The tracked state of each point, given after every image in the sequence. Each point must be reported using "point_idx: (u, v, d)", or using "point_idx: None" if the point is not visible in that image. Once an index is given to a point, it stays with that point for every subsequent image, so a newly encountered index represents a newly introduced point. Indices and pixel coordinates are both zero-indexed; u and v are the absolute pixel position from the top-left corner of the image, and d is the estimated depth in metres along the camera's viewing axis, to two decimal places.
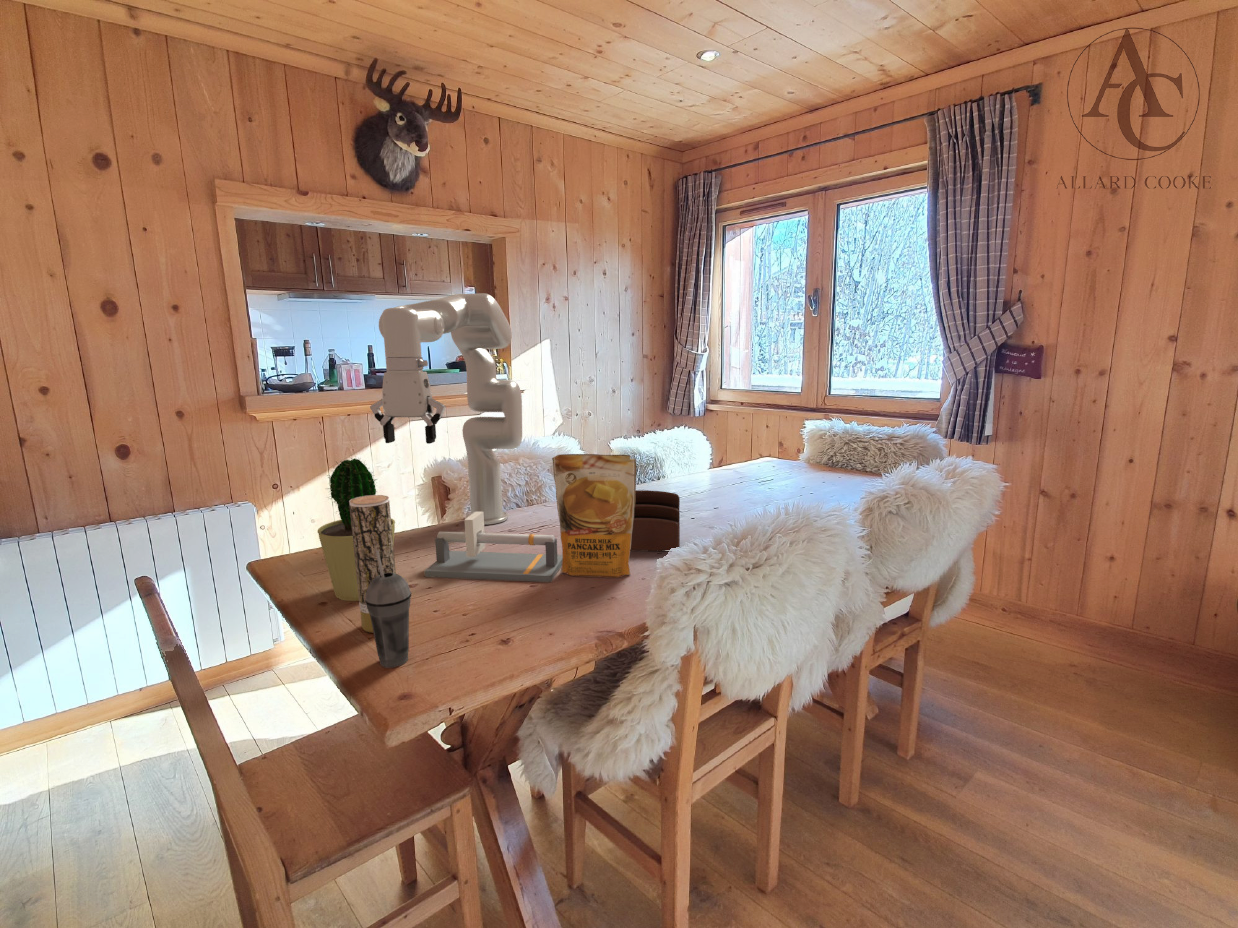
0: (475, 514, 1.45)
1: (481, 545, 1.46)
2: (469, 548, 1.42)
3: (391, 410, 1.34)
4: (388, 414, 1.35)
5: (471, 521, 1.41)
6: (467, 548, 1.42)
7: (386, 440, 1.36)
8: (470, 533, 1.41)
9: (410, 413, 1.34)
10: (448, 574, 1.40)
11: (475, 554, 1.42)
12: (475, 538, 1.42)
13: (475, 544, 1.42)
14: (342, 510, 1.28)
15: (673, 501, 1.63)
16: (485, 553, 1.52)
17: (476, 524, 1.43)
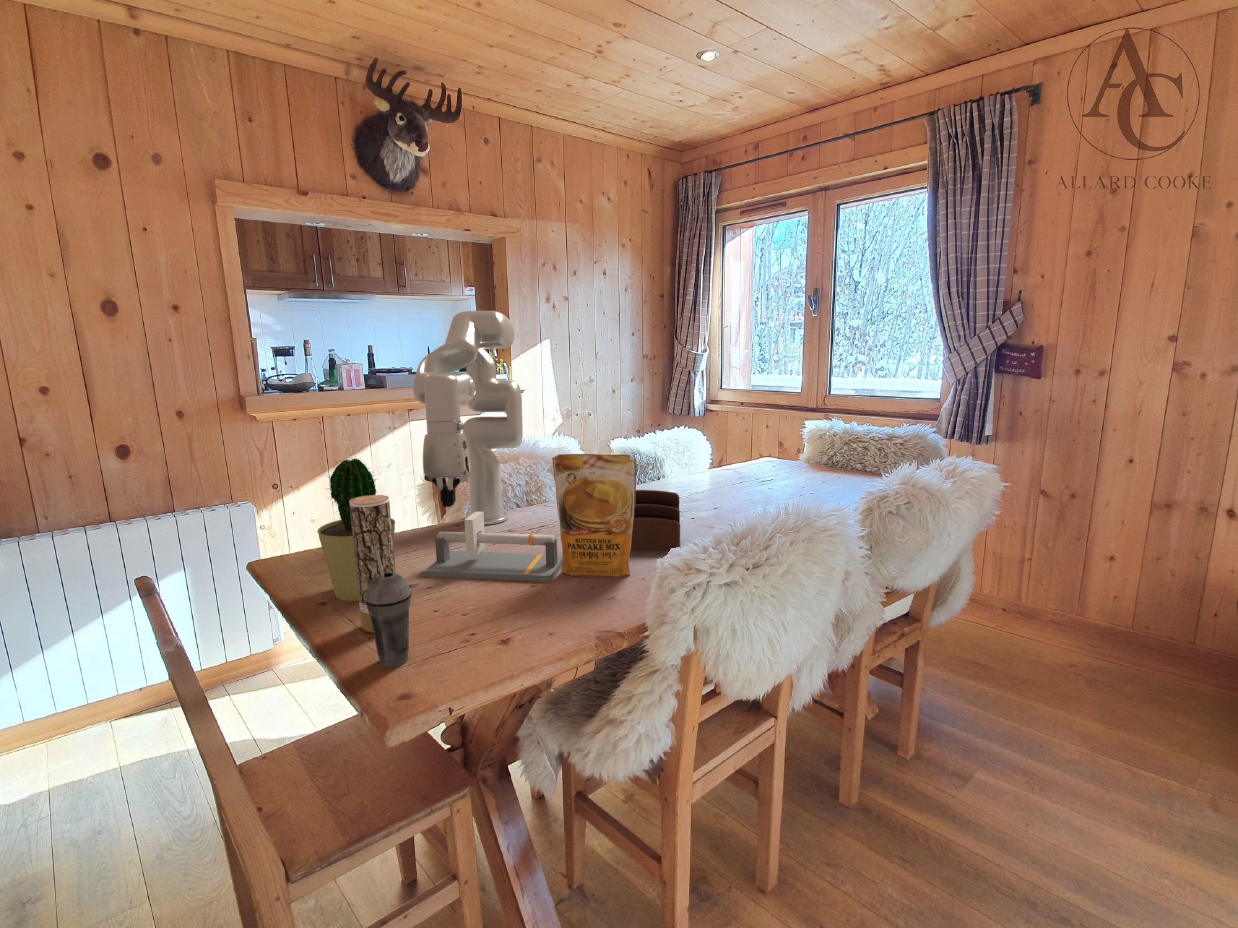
0: (475, 514, 1.45)
1: (481, 545, 1.46)
2: (469, 548, 1.42)
3: (431, 470, 1.41)
4: (428, 474, 1.41)
5: (471, 521, 1.41)
6: (467, 548, 1.42)
7: (443, 504, 1.42)
8: (470, 533, 1.41)
9: (449, 473, 1.40)
10: (448, 574, 1.40)
11: (475, 554, 1.42)
12: (475, 538, 1.42)
13: (475, 544, 1.42)
14: (342, 510, 1.28)
15: (673, 500, 1.63)
16: (485, 553, 1.52)
17: (476, 524, 1.43)
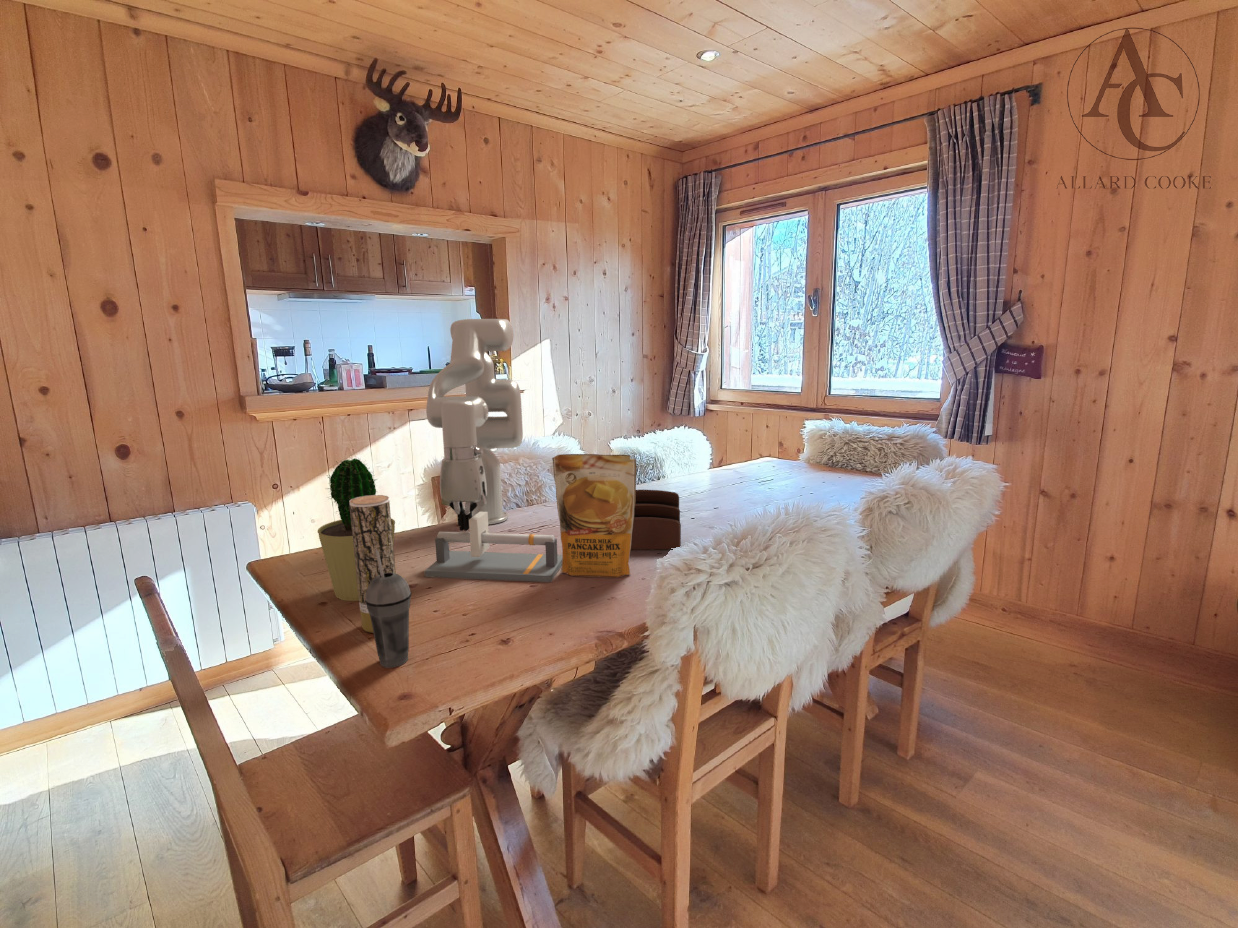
0: (479, 514, 1.45)
1: (485, 545, 1.46)
2: (473, 548, 1.42)
3: (448, 495, 1.42)
4: (445, 499, 1.42)
5: (476, 521, 1.40)
6: (471, 548, 1.42)
7: (460, 528, 1.43)
8: (474, 533, 1.41)
9: (467, 498, 1.41)
10: (448, 574, 1.40)
11: (479, 554, 1.42)
12: (479, 538, 1.42)
13: (479, 544, 1.42)
14: (342, 510, 1.28)
15: (673, 500, 1.64)
16: (485, 553, 1.52)
17: (480, 524, 1.43)
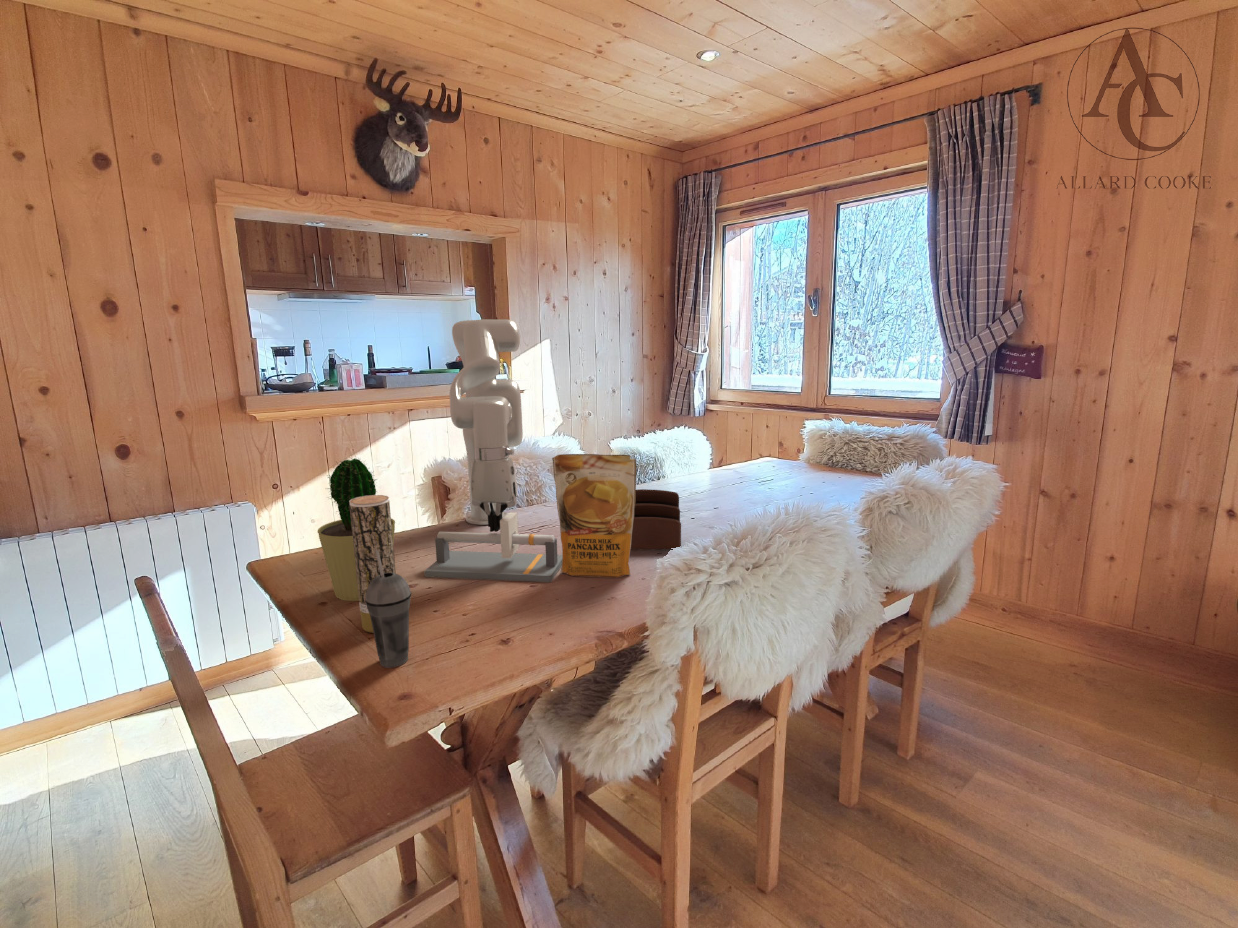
0: (509, 514, 1.44)
1: (515, 546, 1.45)
2: (504, 549, 1.41)
3: (479, 496, 1.41)
4: (476, 499, 1.41)
5: (507, 522, 1.39)
6: (502, 549, 1.41)
7: (491, 529, 1.42)
8: (505, 534, 1.40)
9: (497, 499, 1.40)
10: (448, 574, 1.40)
11: (510, 555, 1.41)
12: (510, 539, 1.41)
13: (510, 545, 1.41)
14: (342, 510, 1.28)
15: (673, 500, 1.64)
16: (485, 553, 1.52)
17: (511, 525, 1.42)
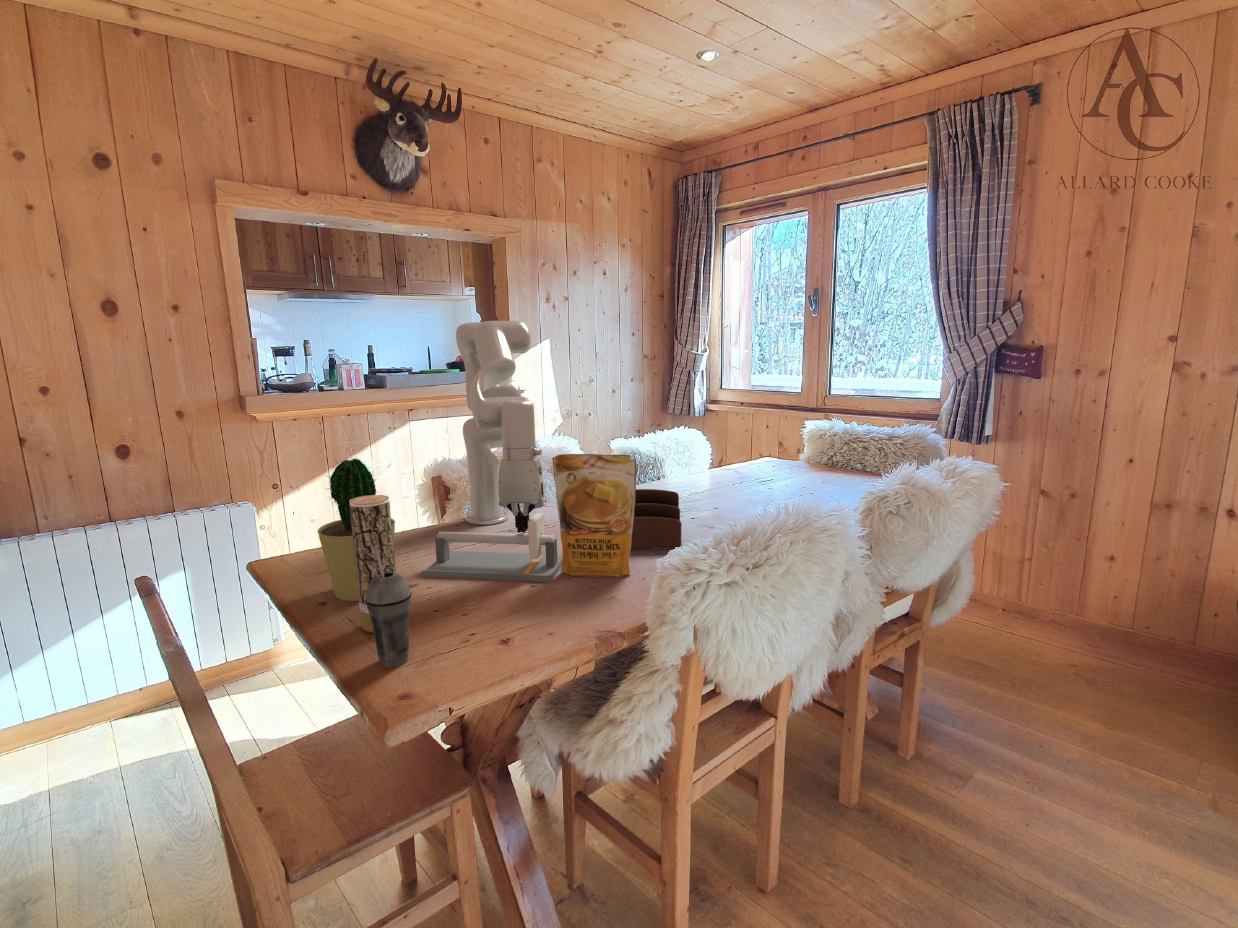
0: (536, 515, 1.43)
1: (542, 547, 1.44)
2: (532, 550, 1.40)
3: (506, 496, 1.40)
4: (503, 500, 1.40)
5: (535, 523, 1.38)
6: (530, 550, 1.40)
7: (518, 530, 1.41)
8: (533, 535, 1.39)
9: (525, 499, 1.39)
10: (448, 574, 1.40)
11: (537, 556, 1.40)
12: (538, 540, 1.40)
13: (538, 546, 1.40)
14: (342, 510, 1.28)
15: (672, 499, 1.65)
16: (485, 553, 1.52)
17: (539, 525, 1.41)
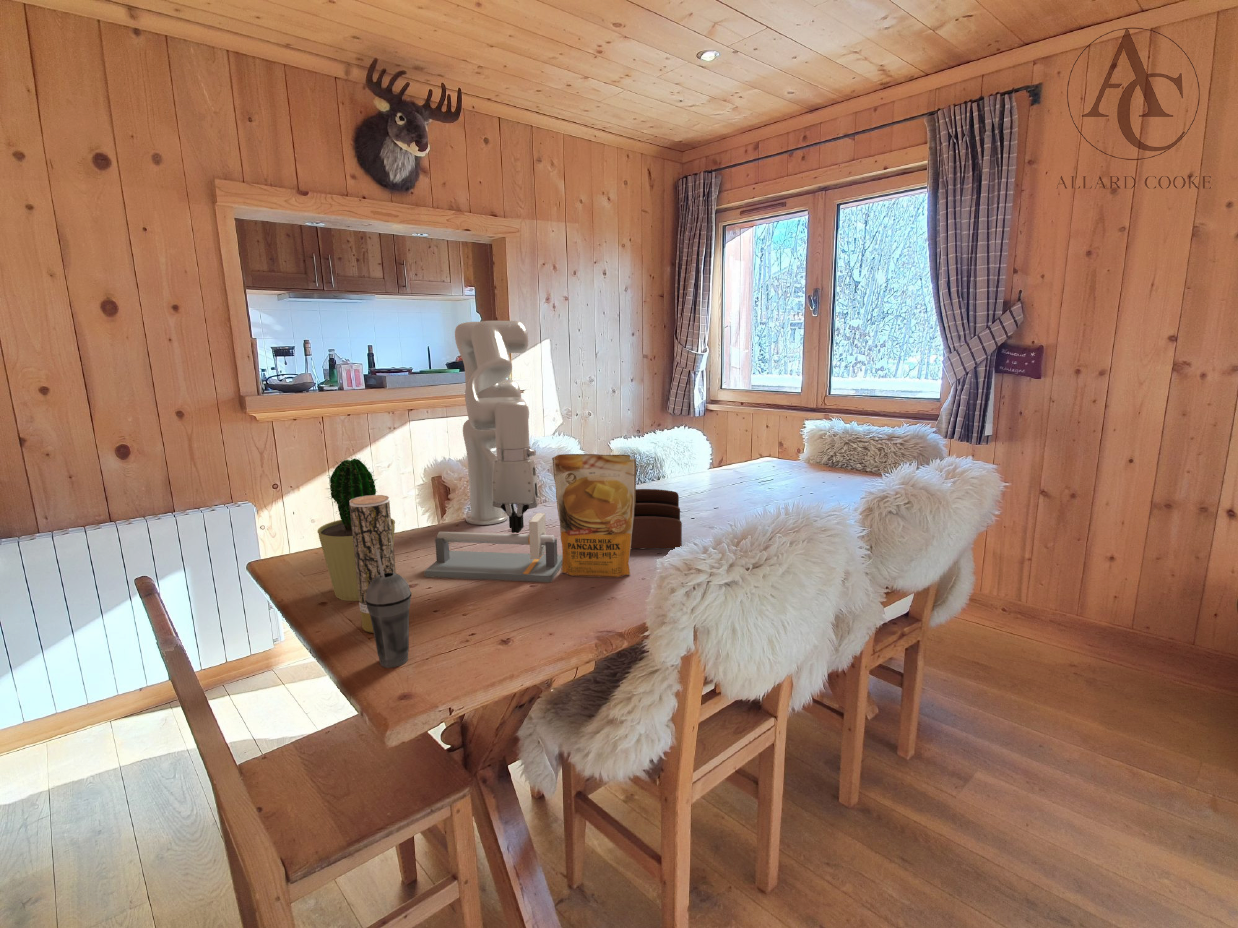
0: (537, 515, 1.43)
1: (543, 547, 1.44)
2: (533, 550, 1.40)
3: (500, 497, 1.40)
4: (497, 500, 1.40)
5: (536, 523, 1.38)
6: (531, 550, 1.40)
7: (512, 530, 1.42)
8: (534, 535, 1.39)
9: (519, 500, 1.39)
10: (448, 574, 1.40)
11: (538, 556, 1.40)
12: (539, 540, 1.40)
13: (539, 546, 1.40)
14: (342, 510, 1.28)
15: (672, 499, 1.65)
16: (485, 553, 1.52)
17: (540, 526, 1.41)
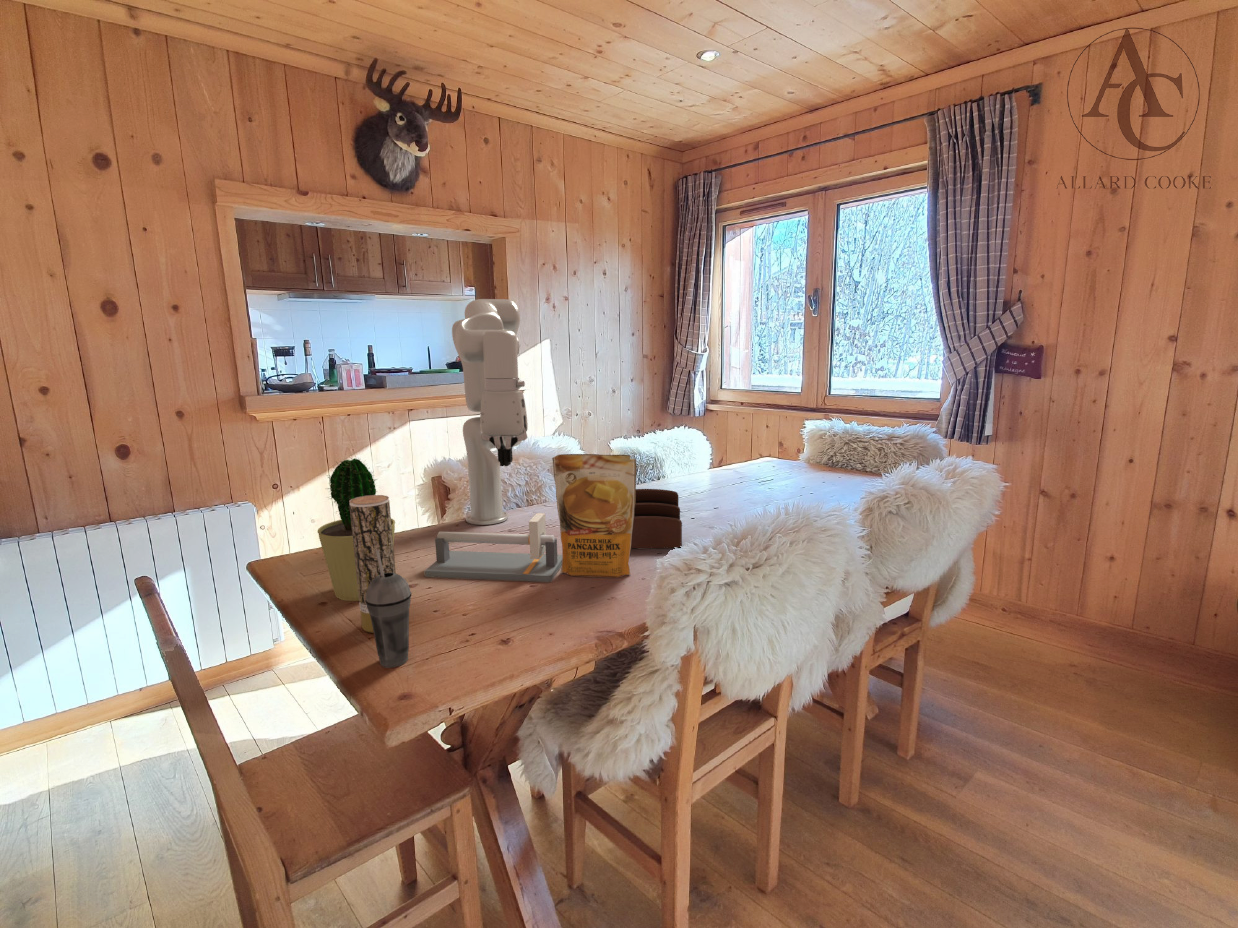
0: (537, 515, 1.43)
1: (543, 547, 1.44)
2: (533, 550, 1.40)
3: (489, 429, 1.38)
4: (485, 433, 1.39)
5: (536, 523, 1.38)
6: (531, 550, 1.40)
7: (501, 463, 1.40)
8: (534, 535, 1.39)
9: (508, 432, 1.38)
10: (448, 574, 1.40)
11: (538, 556, 1.40)
12: (539, 540, 1.40)
13: (539, 546, 1.40)
14: (342, 510, 1.28)
15: (672, 499, 1.65)
16: (485, 553, 1.52)
17: (540, 526, 1.41)
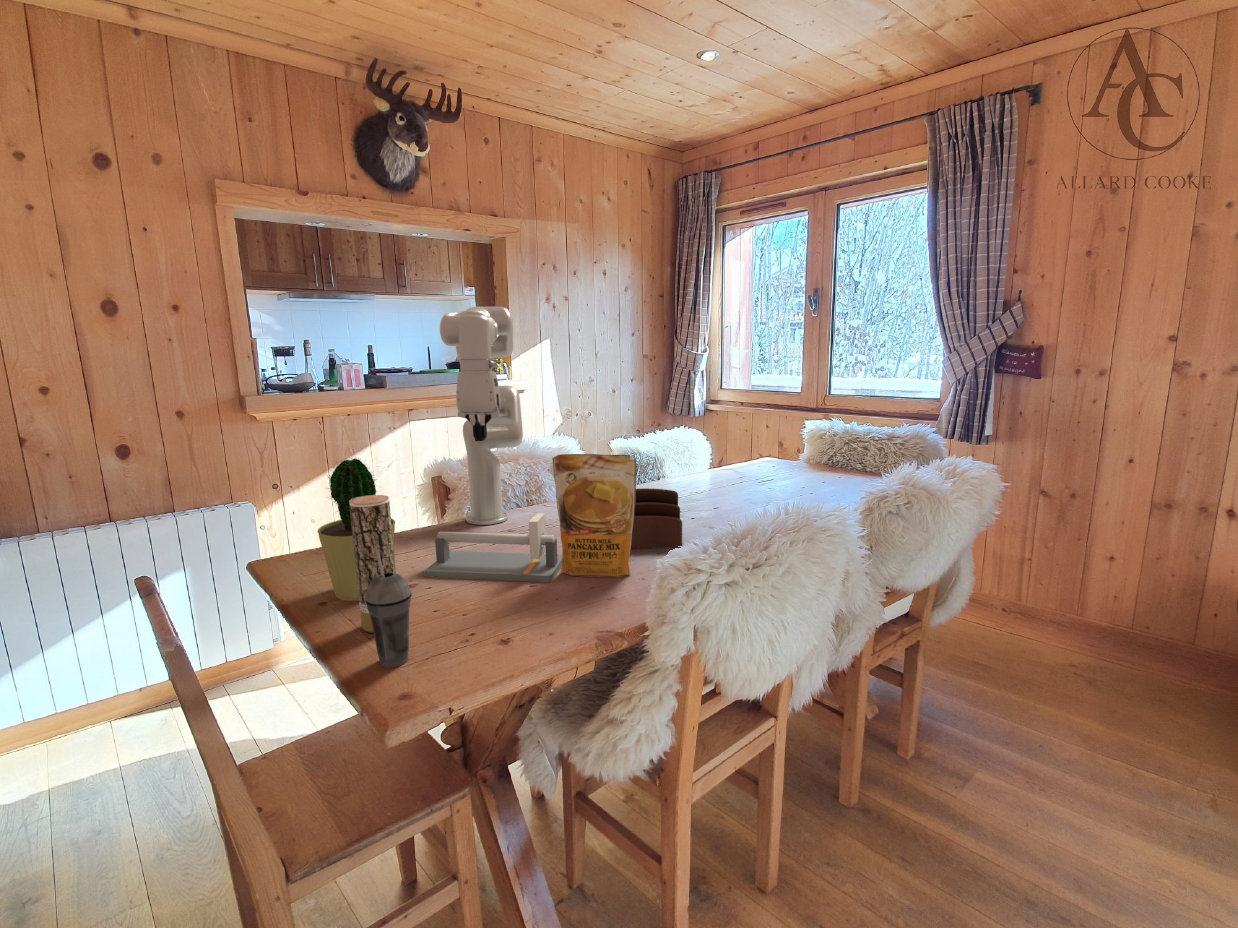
0: (537, 515, 1.43)
1: (543, 547, 1.44)
2: (533, 550, 1.40)
3: (464, 406, 1.49)
4: (461, 410, 1.50)
5: (536, 523, 1.38)
6: (531, 550, 1.40)
7: (476, 438, 1.51)
8: (534, 535, 1.39)
9: (482, 409, 1.49)
10: (448, 574, 1.40)
11: (538, 556, 1.40)
12: (539, 540, 1.40)
13: (539, 546, 1.40)
14: (342, 510, 1.28)
15: (672, 498, 1.66)
16: (485, 553, 1.52)
17: (540, 526, 1.41)
